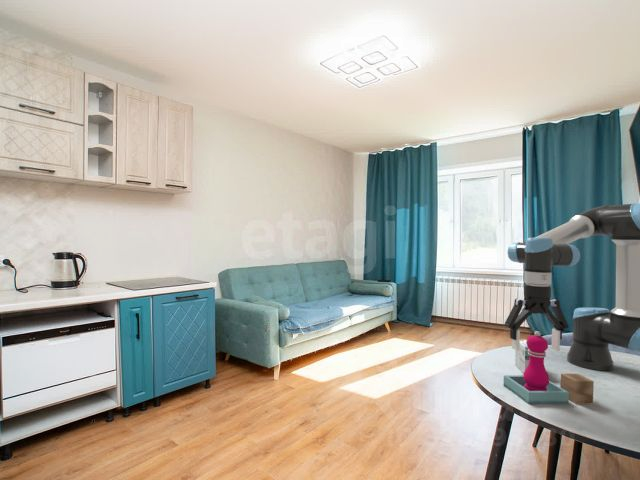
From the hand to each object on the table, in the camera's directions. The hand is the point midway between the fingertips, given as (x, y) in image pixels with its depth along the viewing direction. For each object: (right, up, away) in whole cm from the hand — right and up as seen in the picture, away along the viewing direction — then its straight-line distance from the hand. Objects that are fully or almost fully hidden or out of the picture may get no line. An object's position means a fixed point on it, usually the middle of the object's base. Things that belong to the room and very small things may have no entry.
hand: (535, 349), depth 113 cm
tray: (0, -15, 0) cm, 15 cm away
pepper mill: (0, -14, 0) cm, 14 cm away
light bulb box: (+10, -15, +20) cm, 27 cm away
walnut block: (+11, -15, -3) cm, 19 cm away
